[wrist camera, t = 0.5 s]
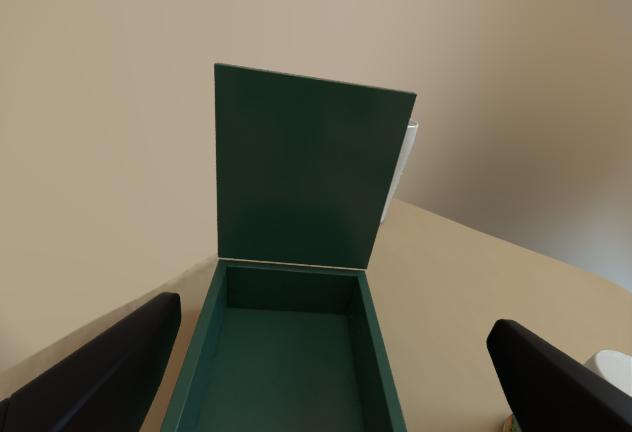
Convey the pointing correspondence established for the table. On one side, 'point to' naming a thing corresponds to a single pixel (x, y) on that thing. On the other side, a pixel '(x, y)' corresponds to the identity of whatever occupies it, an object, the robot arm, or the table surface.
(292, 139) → the green box lid
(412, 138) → the white tumbler
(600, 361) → the pill bottle
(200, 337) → the green open box
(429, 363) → the table surface
